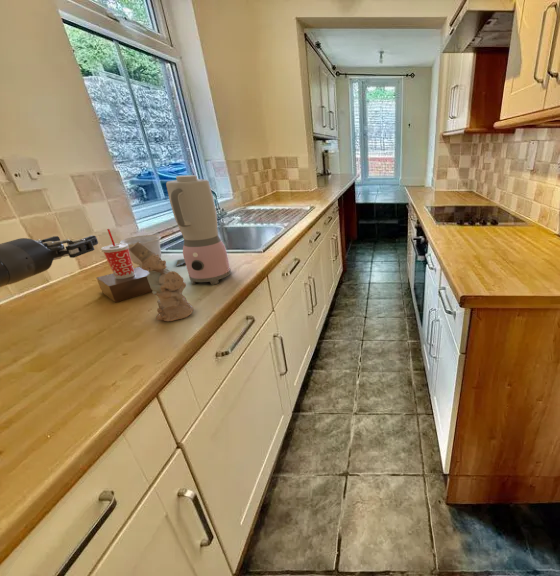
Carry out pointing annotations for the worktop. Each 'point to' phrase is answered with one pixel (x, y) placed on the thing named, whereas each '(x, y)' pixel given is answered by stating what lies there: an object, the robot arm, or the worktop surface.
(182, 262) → the build plate
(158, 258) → the figurine
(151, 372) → the worktop surface
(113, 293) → the walnut block
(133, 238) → the teacup
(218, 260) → the blender
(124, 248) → the beverage cup
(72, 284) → the worktop surface
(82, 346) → the worktop surface
